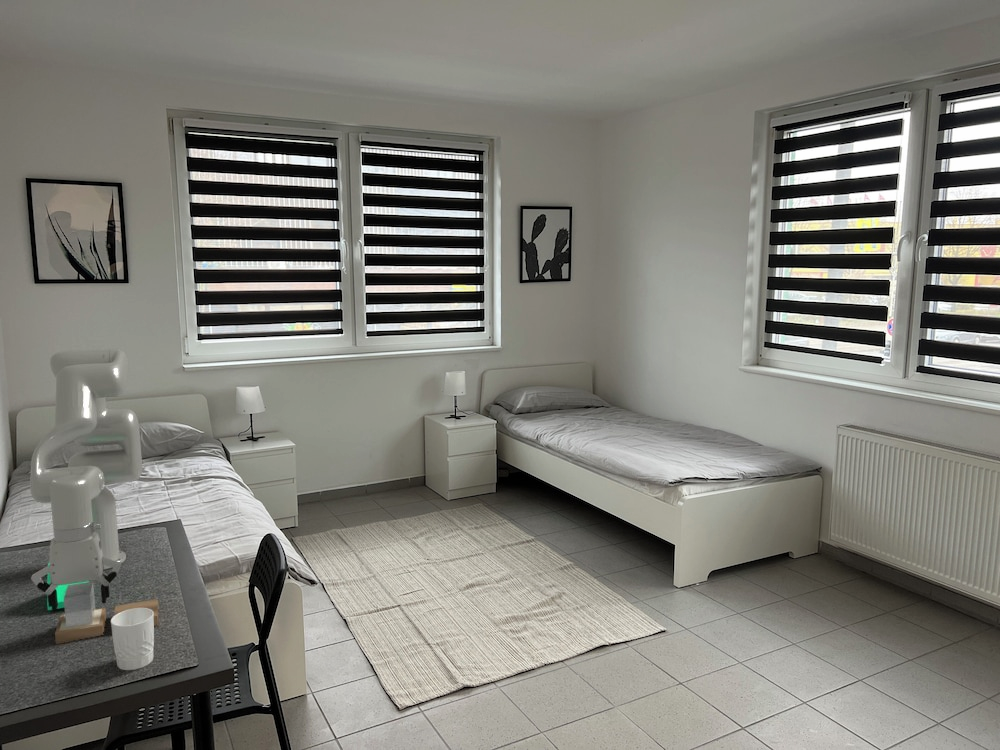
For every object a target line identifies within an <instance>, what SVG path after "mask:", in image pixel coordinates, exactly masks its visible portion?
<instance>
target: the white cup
mask: <svg viewBox="0 0 1000 750" xmlns="http://www.w3.org/2000/svg"><path fill="white" fill-rule="evenodd" d="M110 626H111V634H112V642H113V647H114V653H115V658H116V665H117V666H116V667H117V668H118V669H120V670H122V671H134V670H139V669H143V668H144V667H146V666H149V664H150V663H152V662H153V660H154V647H155V627H154V612H153V611H152V610H151V609H148V608H134V609H129V610H125V611H122V612H120V613H118V614H116V615H115V616H114V615H113V616H112V617H111V618H110Z"/></svg>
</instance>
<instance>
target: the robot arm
mask: <svg viewBox="0 0 1000 750" xmlns="http://www.w3.org/2000/svg"><path fill="white" fill-rule="evenodd" d="M49 365H50V369H51V372H52V374H53V376H54V377H55V379H56V380H55V381H56V382H55V413H54V416H55V418H54V426H53V427H52V428H51V429H50V430H49V431H48V432H47V433H45V435H44V436H43V437H42V438H41V439H40V441H39V443H38V444H37V446H36V447H35V448H34V451H33V454H32V455H31V460H30V461H31V462H30V478H29V481H30V482H29V490H30V494H31V497H32V499H33V500H34V501H36V502H38V503H40V504H47V503H50V506H51V507H50V510H51V516H52V519H51V520H52V529H53V531H52V532H53V538H51V540H50V546H49V557H48V558H49V562H48V563H49V565H48V564H47V566H44V567H43V568H42V569H40V570H38V571H36V572H35V573H32V575H31V578H30V580H31V581H32V583H34V585H35V586H36V588H37V589H39V590H40V591H42V592H44V593H45V595H46V596H47V595H48V605H49V607H52V610H51V612H52V613H53V612H56V611H57V606H58V601H57V590H56V589H55V588H56V587H57V586H58V585H66V584H72V583H79V582H86V581H89V582H93V581H97V582H99V583H100V584H101V586H100V593H101V603H102V604H106V603H107V598H108V599H109V598H110V583H111V582H112V581H113V580H114V579H115V578H116V577H117V575H118V573H119V571H120V569H121V566H122V564H123V563H124V562H125V561H126V559H127V555H126V552H125V551H123V550H120V547H119V533H118V532H119V531H118V518H117V506H116V499H115V496H114V493H113V492H111V491H110V489H108V488H107V486H106V485H113V484H123V483H130V482H131V483H133V482H136V481H138V480H139V479H140V478H141V476H142V474H143V457H142V446H141V435H140V433H141V432H140V424H139V423H140V422H139V420H138V416H137V414H136V413H135V412H134V411H133V409H129V408H114V409H111V408H107V404H106V403H107V401H106V398H117V397H120V396H121V395H123V394H124V393H125V390H126V387H127V381H128V375H129V369H130V368H129V359H128V356H127V354H126V352H124V351H123V350H122V349H118V348H116V349H115V348H113V349H112V348H110V349H109V348H108V349H73V350H72V349H71V350H63V351H58V352H55V353H53V354H52V355H51V357H50V360H49ZM71 442H74V444H76V445H77V446H79V447H99V446H111V445H112V446H113V445H114V446H115V445H119V446H120V447H117V448H116V447H115V448H114V447H113V448H101V449H100V448H99V449H89V450H83V451H79V452H77V453H75V454H73V455H72V456H71V457H70V458H69V461H68V463H67V464H68V465H67V467H54V468H47V465H48V461H49V459H50V457H51V456H52V455H53V454H54V453H55V452H56V451H57V450H58V449H59V450H60V448H62V447H64V446H65V445H67V444H69V443H71ZM110 569H112V570H111V571H110V572H109V573H108V574H106V573H105V572H104V570H110ZM48 573H50V581H51V583H50V584H48V583H47V582H46V581H45V580H43V579H42V578H43V577H45V576H46V575H47V574H48Z"/></svg>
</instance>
